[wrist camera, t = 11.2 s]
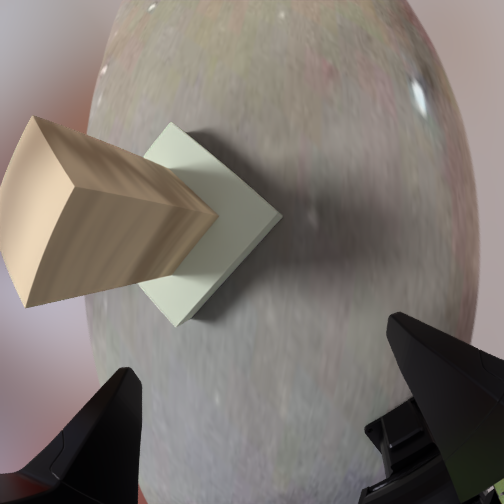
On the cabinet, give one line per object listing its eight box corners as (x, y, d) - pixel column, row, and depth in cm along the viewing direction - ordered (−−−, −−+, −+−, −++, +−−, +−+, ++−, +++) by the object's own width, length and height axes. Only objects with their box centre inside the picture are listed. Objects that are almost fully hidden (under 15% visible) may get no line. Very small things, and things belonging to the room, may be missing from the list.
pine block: (219, 216, 18) (74, 186, 6) (171, 275, 19) (25, 308, 8) (168, 168, 19) (32, 115, 7) (128, 225, 20) (-10, 219, 8)
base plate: (283, 216, 20) (277, 212, 17) (190, 318, 22) (175, 327, 19) (185, 132, 21) (170, 121, 19) (113, 229, 23) (95, 229, 21)
